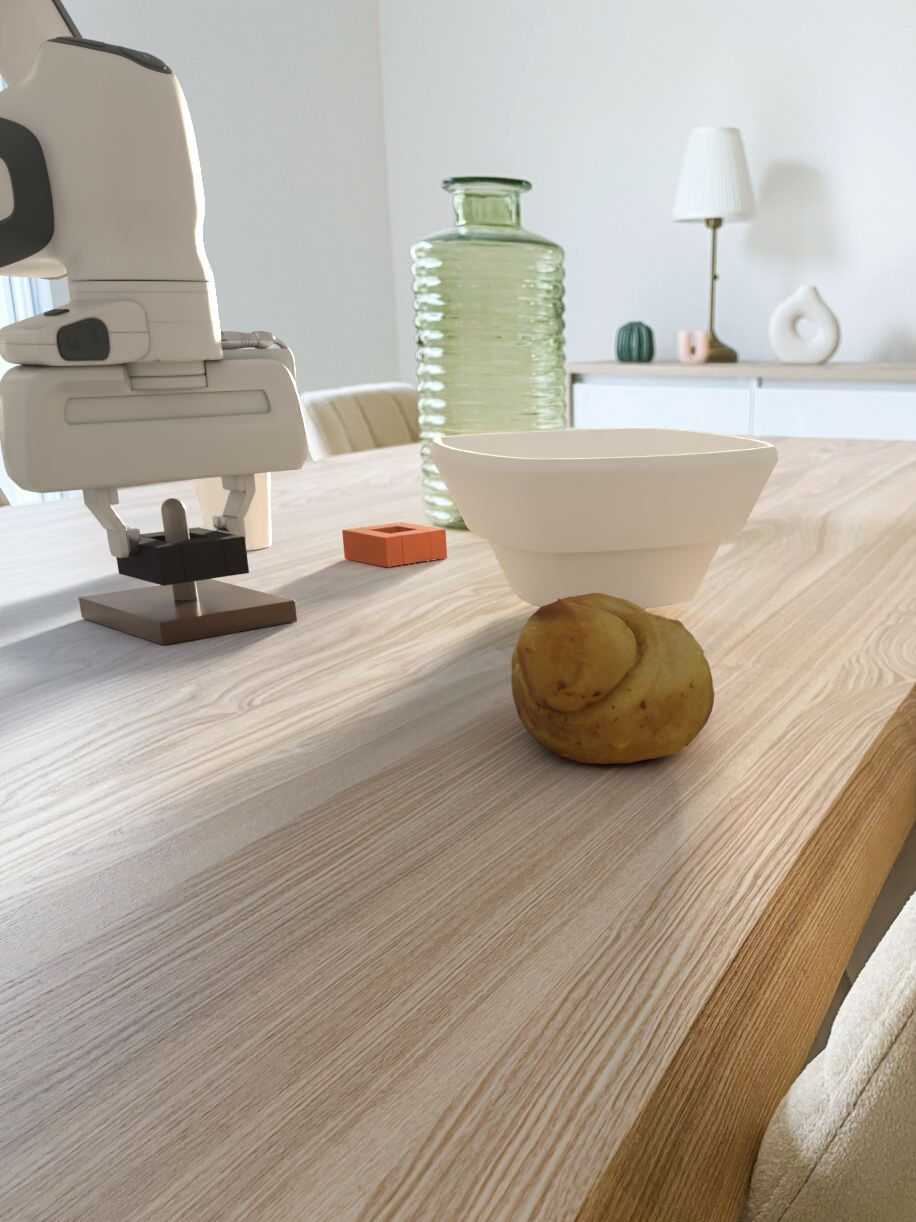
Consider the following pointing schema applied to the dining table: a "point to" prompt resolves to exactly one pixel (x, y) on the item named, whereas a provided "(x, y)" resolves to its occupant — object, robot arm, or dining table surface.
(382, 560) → the terracotta pad
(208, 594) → the peg stand
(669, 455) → the bowl
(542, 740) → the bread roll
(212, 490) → the cream cup
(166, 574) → the charcoal square ring
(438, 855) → the dining table surface
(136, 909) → the dining table surface
